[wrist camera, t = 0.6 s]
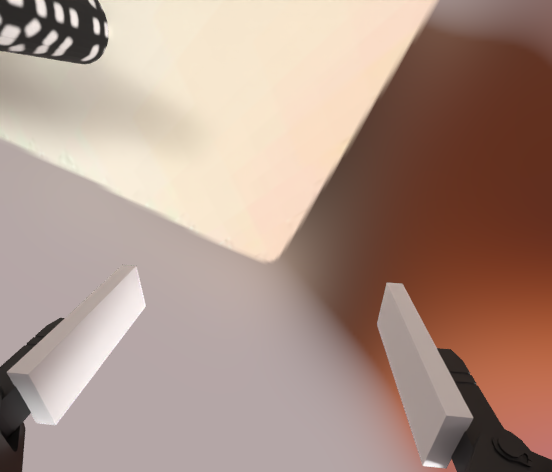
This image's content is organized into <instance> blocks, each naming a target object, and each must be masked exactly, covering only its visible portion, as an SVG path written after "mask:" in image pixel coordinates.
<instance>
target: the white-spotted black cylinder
mask: <svg viewBox="0 0 552 472" xmlns="http://www.w3.org/2000/svg"><path fill="white" fill-rule="evenodd" d="M107 42H108V25H107V20H106V17H105V13H104V11H103V9H102V7H101V5H100V3H99V2H98V0H0V51H5V52H11V53H17V54H23V55H29V56H35V57H41V58H48V59H54V60H60V61H66V62H72V63H78V64H89V63H92V62H94V61H96V60H97V59H99V58H100V57H101V56H102V54H103V53H104V51H105V49H106V46H107Z"/></svg>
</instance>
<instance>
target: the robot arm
mask: <svg viewBox="0 0 552 472" xmlns="http://www.w3.org/2000/svg"><path fill="white" fill-rule="evenodd" d="M145 306H146V305H145V301H144V296H143V292H142V288H141V283H140V279H139V275H138V271H137V266H132V265H122V266H121V267H120V268H119V269H118V270H117V271H115V272H114V273H113V274H112V275H111V276H110V277H109V278H108V279H107V280H106V281H105V282H104V283H103V284H101V285H100V286H99V287H98V288H97V289H96V290H95V291H94V292H93V293H92V294H91V295H90V296H89V297H87V298H86V299H85V300H84V301H83V302H82V303H81V304H80V305H79V306H78V307H77V308H75V309H74V310H73V311H72V312H71V313H70V314H69V315H68V316H67V317H66V318H59V319H57V320H56V321H54V322H52V323H51V324H49V325H47V326H46V327H45V328H44V329H42V330H41V331H40V332H39V333H38V334H37V335H36V337H35V338H34V337H33V338H32V339H31V340H30V341H29V342H28V343H27V345H26V346H23V347H22V348H21V349H20V350H19V351H18V352H17V353H15V354H14V355H13V356H12V357H11V358H10V359H9V360H8V361H6V362H5V363H4V364H3V365H2V366H1V367H0V472H22V464H23V452H24V439H25V426H24V423H23V421H24V420H25V419H26V418H27V417H28V415H29V414H30V413H31V415H32V416H33V418H34V420H35V422H36V423H41V424H51V425H56V424H57V423H58V421H59V420H60V419H61V418H62V416H63V415H64V414H65V412H66V411H67V410H68V408H69V407H70V406H71V404H72V403H73V402H74V400H75V399H76V398H77V396H78V395H79V394H80V392H81V391H82V390H83V388H84V387H85V386H86V385H87V383H88V382H89V381H90V379H91V378H92V377H93V375H94V374H95V373H96V371H97V370H98V369H99V367H100V366H101V365H102V363H103V362H104V361H105V359H106V358H107V357H108V355H109V354H110V353H111V351H112V350H113V349H114V348H115V346H116V345H117V344H118V342H119V341H120V340H121V338H122V337H123V336H124V334H125V333H126V332H127V330H128V329H129V328H130V326H131V325H132V324H133V322H134V321H135V320H136V318H137V317H138V316H139V314H140V313H141V312H142V311H143V309H144V308H145ZM377 325H378V329H379V332H380V335H381V338H382V341H383V344H384V347H385V350H386V354H387V356H388V360H389V363H390V366H391V369H392V372H393V375H394V378H395V381H396V385H397V388H398V391H399V393H400V397H401V400H402V403H403V406H404V409H405V412H406V415H407V418H408V422H409V425H410V428H411V430H412V434H413V437H414V440H415V443H416V446H417V449H418V453H419V456H420V459H421V462H422V465H423V466H430V467H439V468H447V466H448V464H449V462H450V461H451V459H452V460H453V463H454V465H455V468H456V470H457V472H552V460H551V459H548V458H546V457H543V456H541V455H538V454H536V453H534V452H532V451H530V449H529V448H528V447H527V446H526V445H525V444H524V443H523V441H522V440H520V439H519V438H518V437H517V436H515V435H514V434H513V433H511V432H509V431H507V430H505V429H504V428H503V426H502V425H501V423H500V422H499V420H498V418H497V417H496V415H495V413H494V412H493V410H492V408H491V407H490V405H489V404H488V402H487V400H486V398H485V397H484V395H483V393H482V392H481V390H480V388H479V387H478V386H477V385H476V382H475V381H474V379H473V377H472V375H470V372H469V370H468V369H467V367H466V365H465V364H464V362H463V361H462V360H461V359H460V358H459V357H458V356H457V355H456V354H455V353H454V352H453V351H452V350H451V349H439V348H436V346H435V345H434V342H433V341H432V339H431V337H430V335H429V333H428V331H427V329H426V328H425V325H424V324H423V322H422V320H421V318H420V316H419V314H418V312H417V310H416V308H415V307H414V305H413V303H412V301H411V299H410V297H409V295H408V293H407V292H406V290H405V288H404V286H403V284H398V283H387V284H386V288H385V292H384V297H383V301H382V305H381V309H380V314H379V318H378V323H377Z"/></svg>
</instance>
